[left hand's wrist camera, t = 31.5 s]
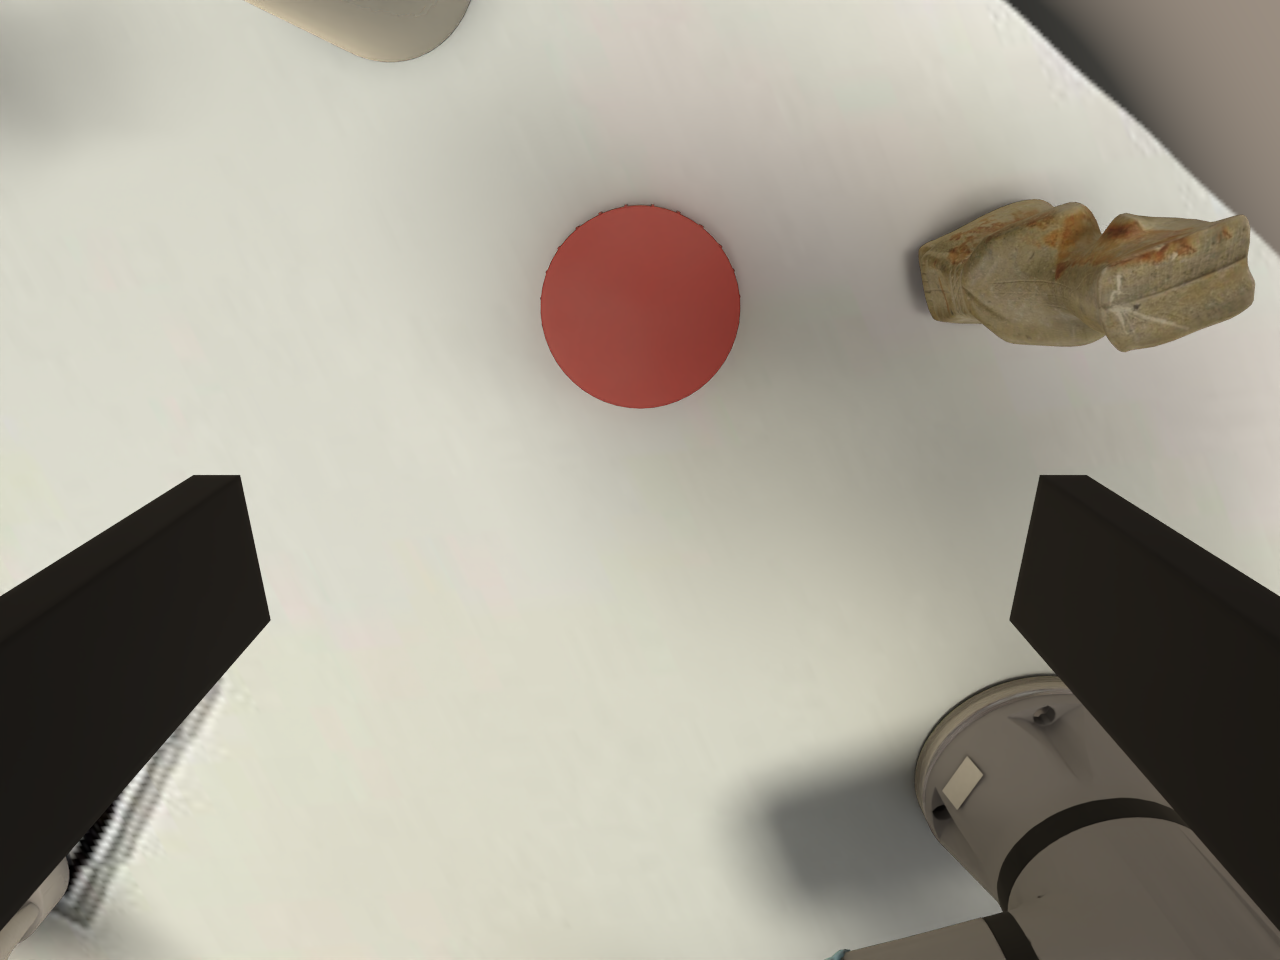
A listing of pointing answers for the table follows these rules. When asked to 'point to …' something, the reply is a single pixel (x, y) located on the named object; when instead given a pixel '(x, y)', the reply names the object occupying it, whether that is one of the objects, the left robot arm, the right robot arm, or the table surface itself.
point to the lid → (640, 306)
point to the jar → (373, 24)
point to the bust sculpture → (34, 909)
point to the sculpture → (1088, 275)
